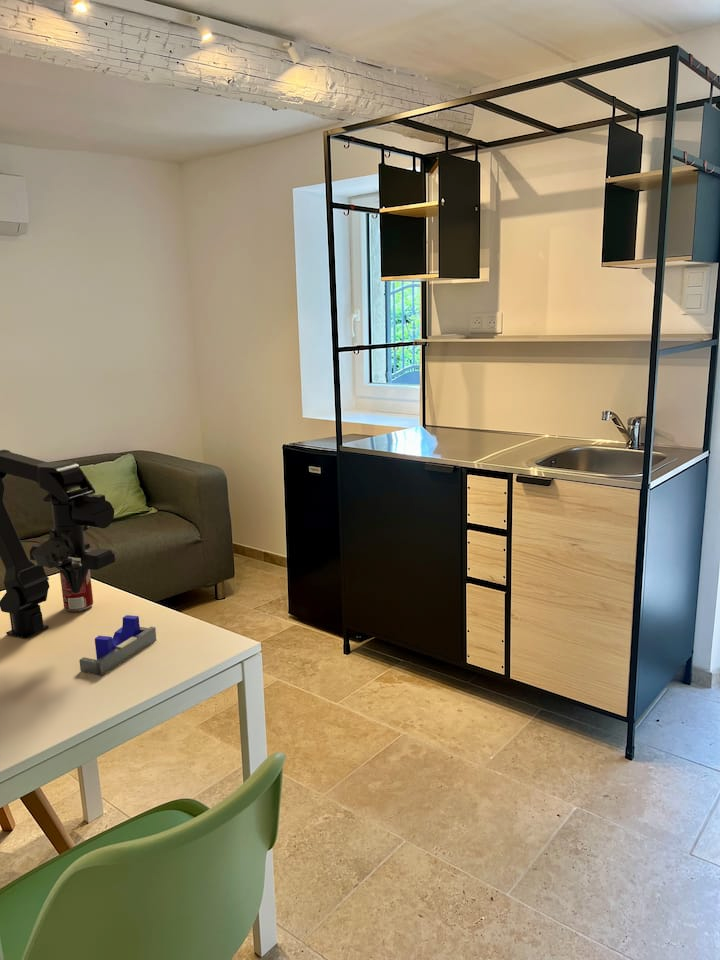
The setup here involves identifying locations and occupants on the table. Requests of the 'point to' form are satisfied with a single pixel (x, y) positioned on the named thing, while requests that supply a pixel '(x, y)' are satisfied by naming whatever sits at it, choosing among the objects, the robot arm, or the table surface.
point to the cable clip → (117, 636)
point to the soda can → (77, 594)
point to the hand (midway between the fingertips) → (76, 592)
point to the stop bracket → (119, 653)
